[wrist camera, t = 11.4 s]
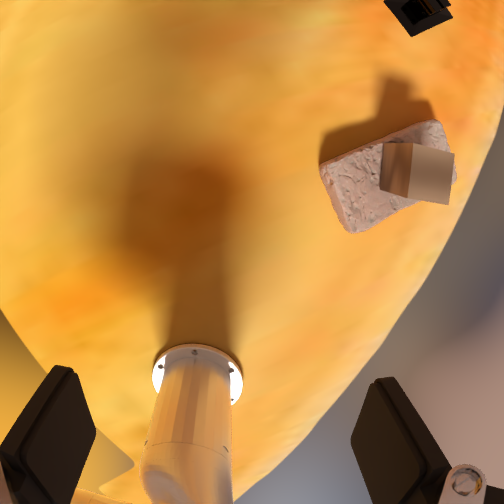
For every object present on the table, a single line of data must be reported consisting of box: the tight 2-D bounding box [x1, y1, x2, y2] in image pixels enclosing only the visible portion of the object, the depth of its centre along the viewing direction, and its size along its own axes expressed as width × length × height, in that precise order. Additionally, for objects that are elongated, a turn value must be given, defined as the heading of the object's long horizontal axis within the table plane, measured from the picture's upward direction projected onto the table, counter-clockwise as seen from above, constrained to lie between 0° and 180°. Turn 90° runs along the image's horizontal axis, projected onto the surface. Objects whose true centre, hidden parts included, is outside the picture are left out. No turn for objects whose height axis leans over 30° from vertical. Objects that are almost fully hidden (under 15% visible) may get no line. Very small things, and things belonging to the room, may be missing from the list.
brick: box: [319, 119, 457, 233], centre depth 33 cm, size 16×8×5 cm, turn 116°
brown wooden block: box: [380, 143, 454, 205], centre depth 28 cm, size 5×5×6 cm
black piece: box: [383, 0, 453, 37], centre depth 26 cm, size 13×8×5 cm, turn 126°
